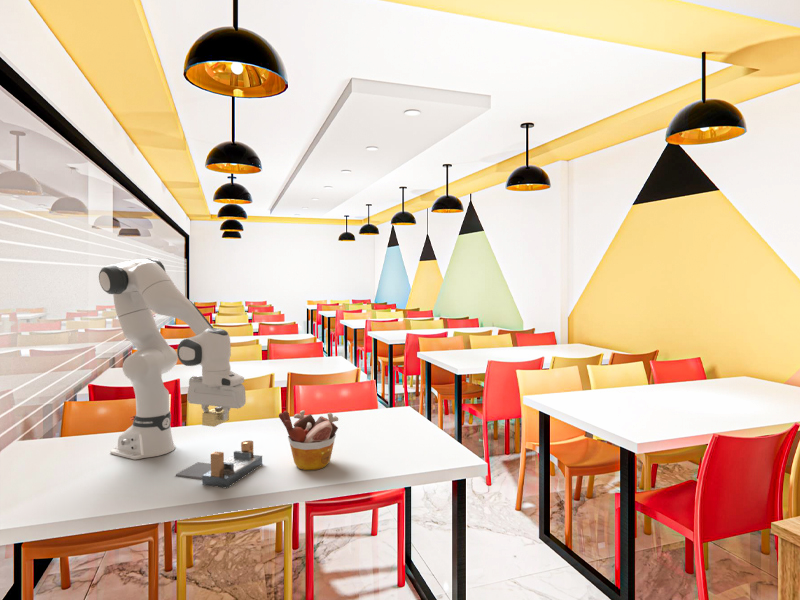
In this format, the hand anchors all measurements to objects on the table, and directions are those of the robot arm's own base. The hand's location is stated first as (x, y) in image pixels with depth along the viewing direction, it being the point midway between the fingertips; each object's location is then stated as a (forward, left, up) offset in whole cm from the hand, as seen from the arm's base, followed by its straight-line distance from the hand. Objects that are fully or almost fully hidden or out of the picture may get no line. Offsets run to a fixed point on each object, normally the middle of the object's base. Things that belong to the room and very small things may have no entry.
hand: (215, 418), depth 164 cm
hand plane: (+6, 0, -18) cm, 19 cm away
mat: (-6, -1, -18) cm, 19 cm away
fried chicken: (+27, +14, -18) cm, 36 cm away
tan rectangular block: (0, 0, -1) cm, 1 cm away
